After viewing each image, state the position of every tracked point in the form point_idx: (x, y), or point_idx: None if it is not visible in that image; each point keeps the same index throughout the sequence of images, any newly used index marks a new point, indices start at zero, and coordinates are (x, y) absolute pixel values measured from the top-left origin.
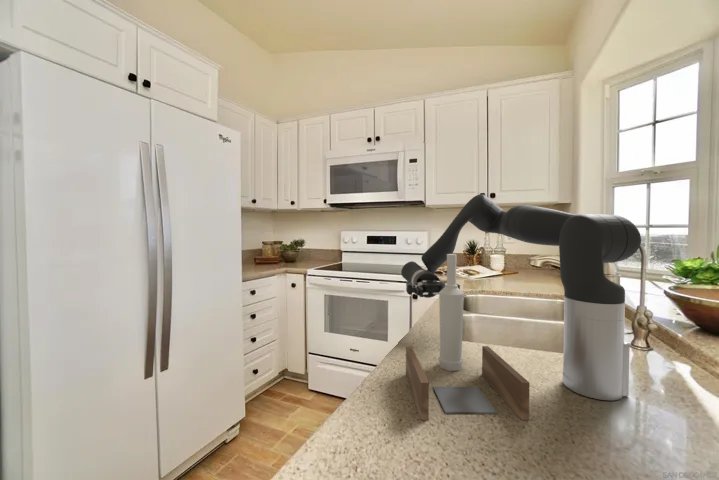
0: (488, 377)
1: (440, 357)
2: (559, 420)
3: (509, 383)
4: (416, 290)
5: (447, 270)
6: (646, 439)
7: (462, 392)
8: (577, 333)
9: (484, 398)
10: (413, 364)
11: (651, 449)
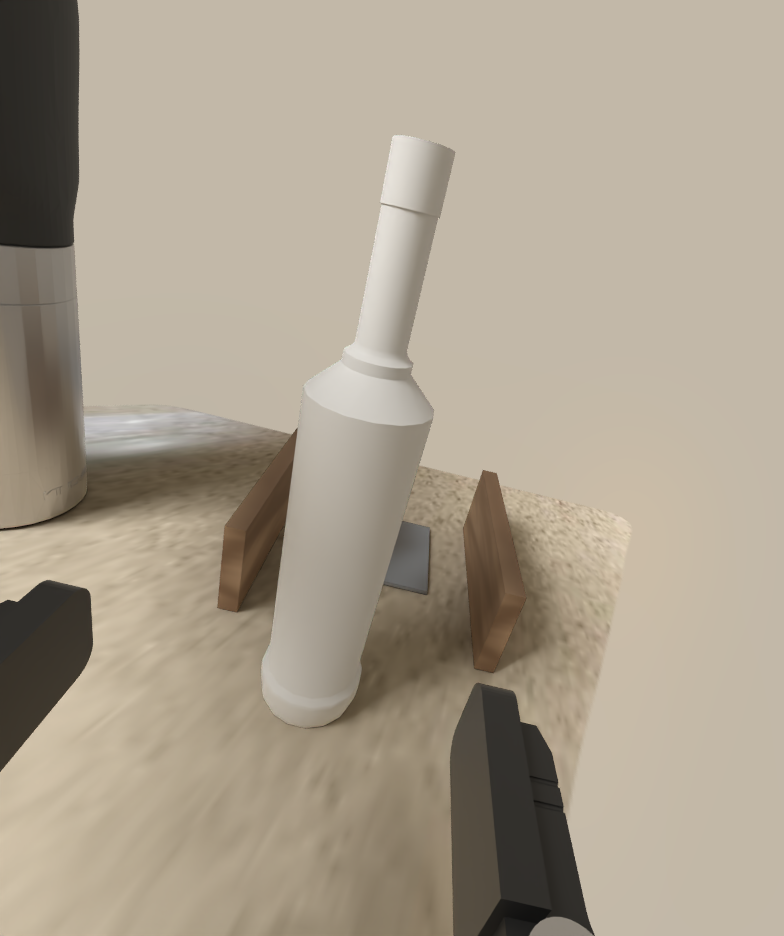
0: (256, 568)
1: (357, 669)
2: (237, 473)
3: None
4: (553, 805)
5: (425, 270)
6: (158, 429)
7: None
8: (77, 346)
9: None
10: (506, 516)
11: (180, 425)
